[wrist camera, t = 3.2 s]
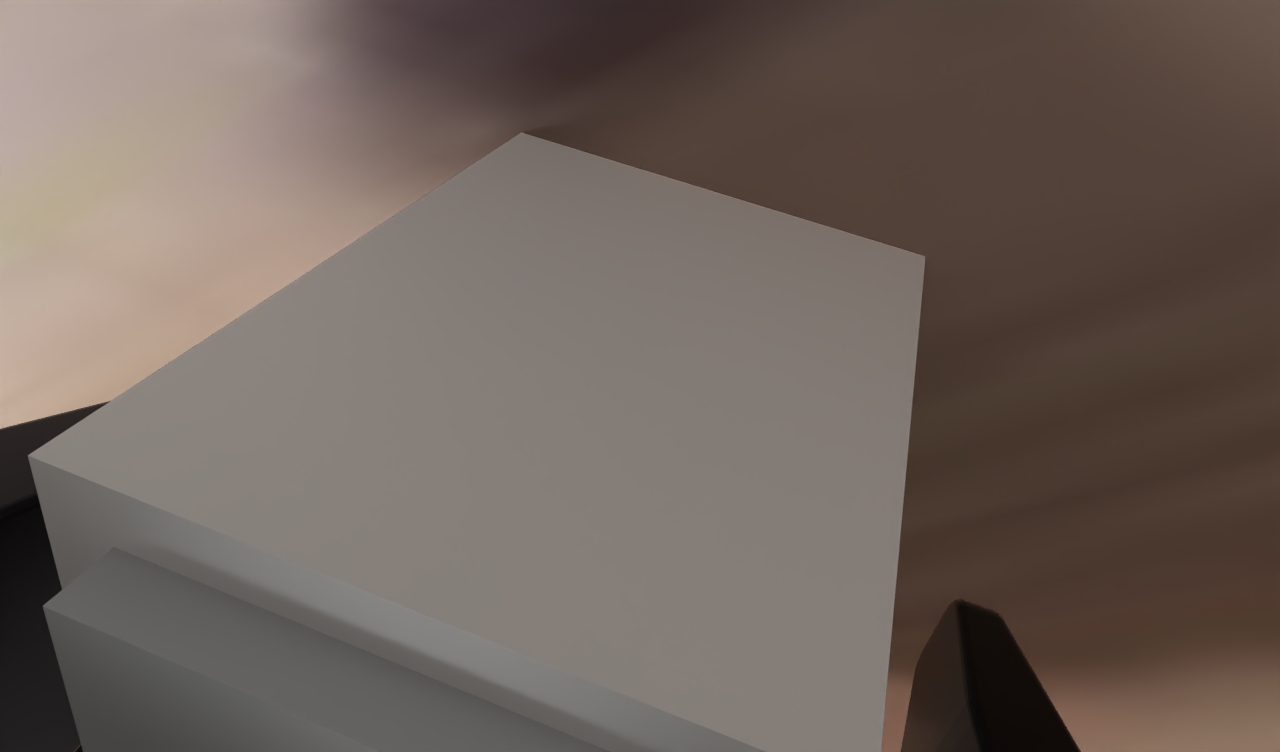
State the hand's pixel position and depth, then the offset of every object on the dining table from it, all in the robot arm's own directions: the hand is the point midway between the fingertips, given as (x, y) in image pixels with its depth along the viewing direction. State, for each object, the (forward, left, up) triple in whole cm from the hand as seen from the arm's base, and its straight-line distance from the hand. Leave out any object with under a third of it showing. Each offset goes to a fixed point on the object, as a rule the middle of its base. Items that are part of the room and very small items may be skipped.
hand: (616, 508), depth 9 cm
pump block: (0, 0, -1) cm, 1 cm away
